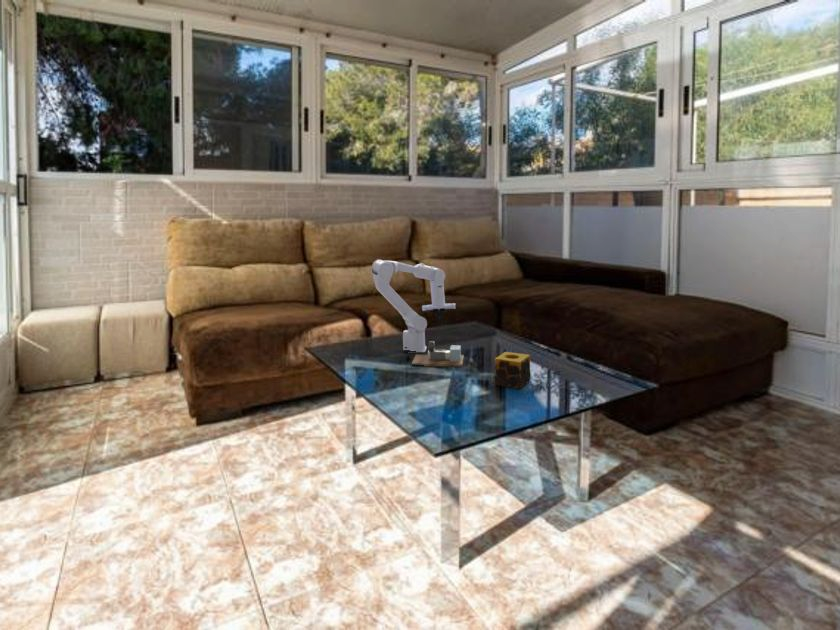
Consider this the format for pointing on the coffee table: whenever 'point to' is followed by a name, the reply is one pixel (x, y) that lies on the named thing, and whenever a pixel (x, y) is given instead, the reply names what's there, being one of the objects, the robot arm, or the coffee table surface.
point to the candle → (512, 370)
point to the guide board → (426, 362)
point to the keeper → (455, 353)
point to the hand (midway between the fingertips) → (440, 325)
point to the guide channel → (437, 355)
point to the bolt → (432, 349)
